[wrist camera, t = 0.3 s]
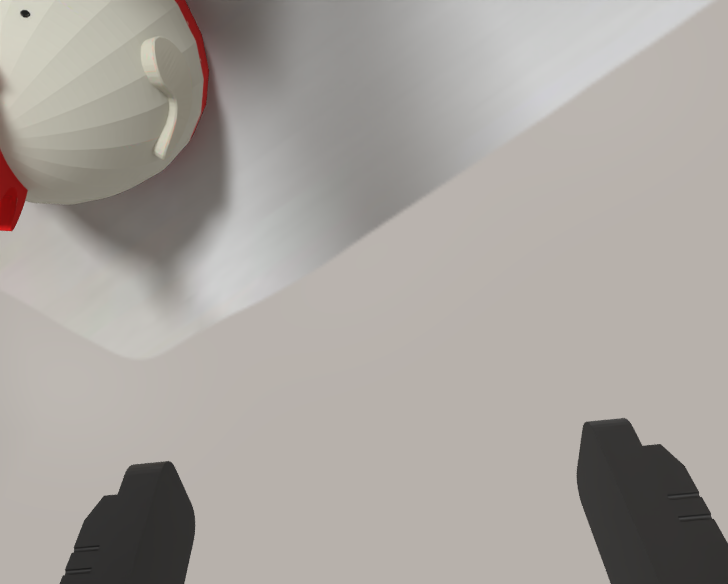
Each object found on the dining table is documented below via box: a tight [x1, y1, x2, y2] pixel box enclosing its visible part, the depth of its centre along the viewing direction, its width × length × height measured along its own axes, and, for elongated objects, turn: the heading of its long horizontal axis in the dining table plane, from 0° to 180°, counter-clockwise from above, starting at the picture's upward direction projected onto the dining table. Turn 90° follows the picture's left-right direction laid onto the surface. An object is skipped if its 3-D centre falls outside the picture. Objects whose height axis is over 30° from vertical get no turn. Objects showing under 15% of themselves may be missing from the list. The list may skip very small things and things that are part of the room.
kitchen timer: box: [0, 0, 209, 231], centre depth 29 cm, size 14×14×15 cm
